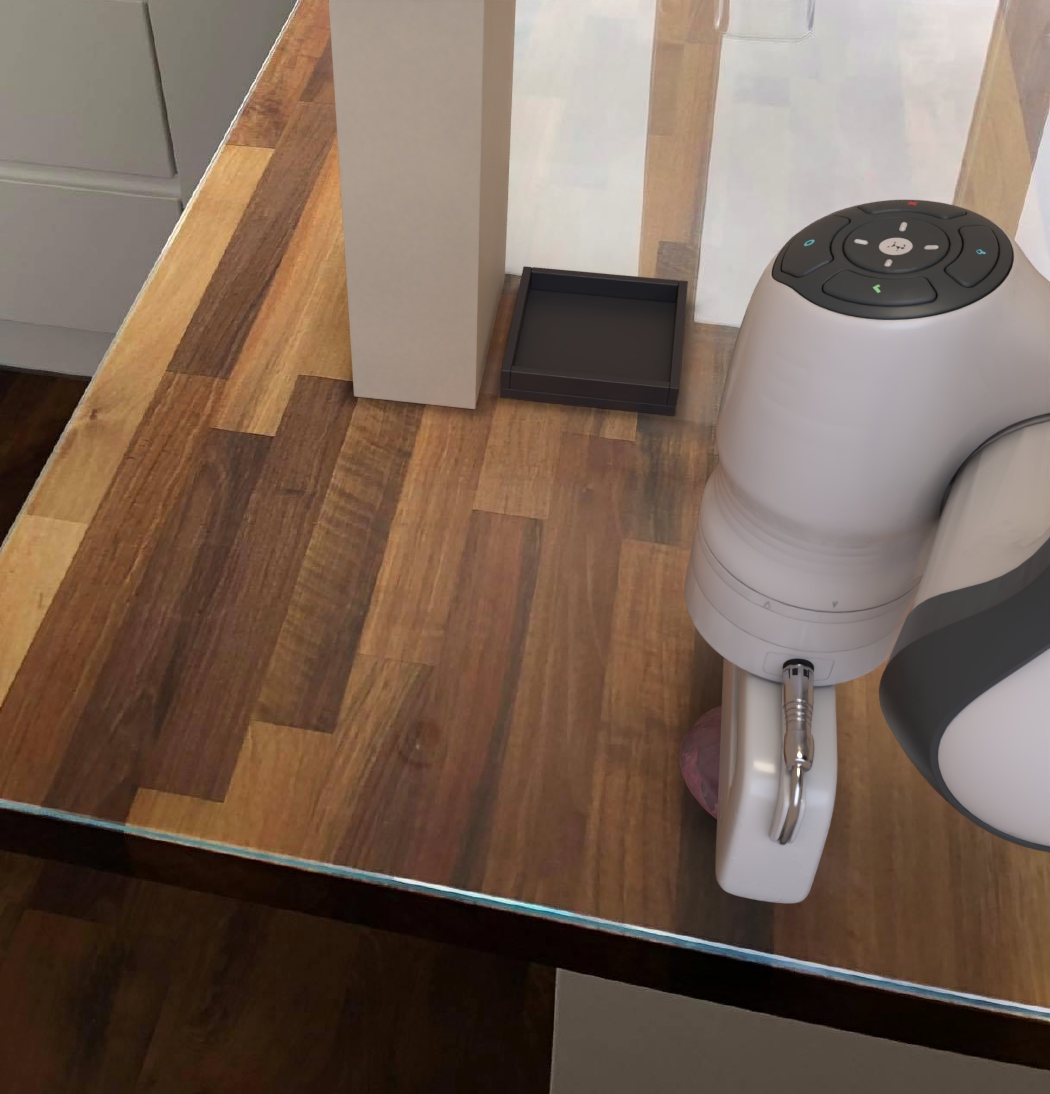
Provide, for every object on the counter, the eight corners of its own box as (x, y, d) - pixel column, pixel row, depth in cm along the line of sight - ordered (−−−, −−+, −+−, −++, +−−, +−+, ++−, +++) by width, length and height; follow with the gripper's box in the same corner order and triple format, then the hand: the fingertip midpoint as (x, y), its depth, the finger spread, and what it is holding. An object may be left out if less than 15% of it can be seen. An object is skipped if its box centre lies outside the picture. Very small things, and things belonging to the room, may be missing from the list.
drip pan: (683, 307, 95) (688, 280, 93) (674, 416, 87) (679, 388, 86) (521, 292, 97) (523, 265, 95) (499, 397, 89) (501, 370, 88)
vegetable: (712, 735, 71) (744, 612, 64) (819, 802, 68) (865, 681, 61) (646, 813, 68) (670, 693, 61) (755, 886, 65) (794, 770, 58)
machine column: (512, 275, 98) (532, -172, 76) (481, 415, 88) (494, -51, 66) (388, 263, 99) (372, -178, 77) (344, 400, 89) (311, -61, 67)
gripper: (894, 807, 48) (814, 982, 58) (871, 416, 61) (810, 613, 72) (710, 780, 49) (664, 957, 59) (727, 401, 62) (687, 598, 73)
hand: (744, 766), depth 65 cm, fingers closed on vegetable, 6 cm apart
